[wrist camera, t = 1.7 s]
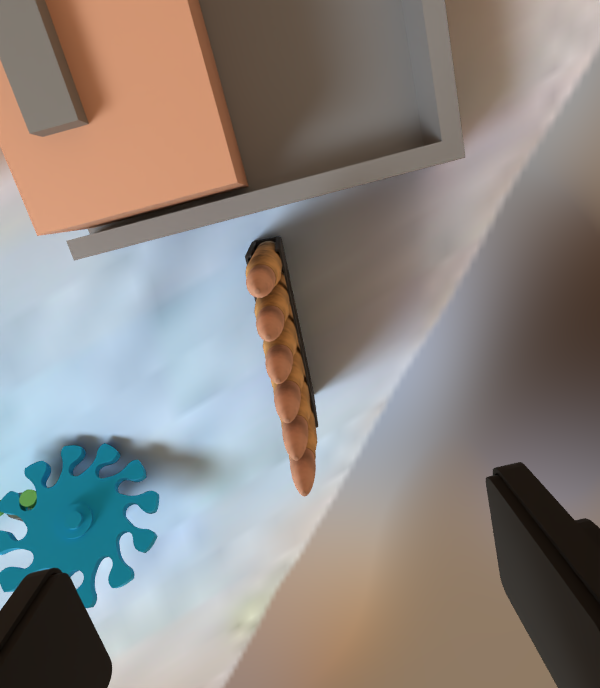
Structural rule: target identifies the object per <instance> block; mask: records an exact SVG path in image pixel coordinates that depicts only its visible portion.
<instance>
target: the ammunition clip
mask: <svg viewBox="0 0 600 688" xmlns="http://www.w3.org/2000/svg"><path fill="white" fill-rule="evenodd" d="M245 259H246V263H247V267H246V278H247V279H246V285H247V289H248V291H249V292H250V294H251V295H253V296H254V297H255V301H256V304H255V316H256V320H257V321H256V327H257V331H258V334H259V335H260V337H261V338H262V339H263V340H264V342H263V349H264V353H265V358H266V369H267V373H268V375H269V377H270V378H271V383H272V387H273V389H274V402H275V407H276V411H277V413H278V415H279V417H280V420H281V424H282V434H283V440H284V444H285V448H286V450H287V452H288V454H289V459H290V468H291V473H292V478H293V481H294V484H295V486H296V488H297V490H298V491H299V493H300V494H301V495H302V496H307V495H308V494H309V492H310V491H311V489H312V486H313V483H314V478H315V469H316V465H315V458H316V456H315V450H316V446H317V434H316V427H318V421H317V413H316V406H315V399H314V392H313V387H312V382H311V378H310V373H309V368H308V363H307V358H306V354H305V349H304V344H303V339H302V334H301V330H300V325H299V320H298V315H297V310H296V306H295V301H294V296H293V291H292V287H291V282H290V277H289V272H288V267H287V263H286V258H285V253H284V248H283V243H282V239H281V237H280V236H278V237H274V238H269V239H264V240H259V241H254V242H252V243H251V245H250V247H249V249H248V251H247V253H246V255H245Z"/></svg>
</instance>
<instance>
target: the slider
mask: <svg viewBox="0 0 600 688" xmlns="http://www.w3.org/2000/svg"><path fill="white" fill-rule="evenodd" d="M0 147H1V149H2V151H3V154H4V156H5V159H6V161H7V163H8V166H9V168H10V171H11V173H12V175H13V178H14V180H15V183H16V185H17V188H18V190H19V192H20V195H21V197H22V200H23V202H24V204H25V207H26V209H27V212H28V214H29V216H30V219H31V221H32V224H33V226H34V228H35V231H36V233H37V236H39V235H46V234H53V233H61V232H68V231H75V230H82V229H89V228H95V227H99V226H103V225H106V224H110V223H114V222H118V221H121V220H125V219H129V218H133V217H136V216H140V215H144V214H148V213H151V212H155V211H159V210H163V209H166V208H170V207H174V206H178V205H181V204H185V203H189V202H193V201H196V200H200V199H204V198H208V197H211V196H215V195H219V194H223V193H226V192H230V191H234V190H238V189H241V188H245V187H249V185H248V182H247V178H246V174H245V171H244V167H243V163H242V160H241V156H240V152H239V148H238V145H237V141H236V137H235V134H234V130H233V126H232V122H231V119H230V115H229V111H228V108H227V104H226V100H225V96H224V93H223V89H222V85H221V82H220V78H219V74H218V71H217V67H216V63H215V59H214V56H213V52H212V48H211V45H210V41H209V37H208V33H207V30H206V26H205V22H204V19H203V15H202V11H201V7H200V4H199V0H0Z"/></svg>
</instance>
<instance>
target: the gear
mask: <svg viewBox="0 0 600 688" xmlns="http://www.w3.org/2000/svg"><path fill="white" fill-rule="evenodd" d="M85 455H86V452H85V450H84V449H83V448H82V447H80V446H76V445H69V446H64V447H63V448H62V451H61V457H62V461H63V468H62V472H61V475H60V477H59V479H58V481H57V483H56V484H55V485H54V486H53V487H50V488H47V486H46V482H47V479H48V477H49V475H50V473H51V467H50V465H49V464H47V463H46V462H44V461H39V462H36V463H34V464H32V465H30V466H28V467H27V468H25V476H26V477H27V478H28V479H30V480H31V481H32V483H33V484H34V486H35V488H36V491H34V490H26V491H24V492H23V493H16V492H13V491H10V492H9V493H7V494H6V495H5V496H4V497H3V499H2V500H0V516H1V515H3V514H4V513H6V514H7V515H8V516H9V517H10V518H13V519H17V520H20V521H23V522H24V523H25V524H26V526H27V529H28V531H27V534H26V536H25V537H24V538H23V539H21V540H19V541H18V540H17V539H16V538H15V536H14V535H13V534H12V533H10V532H6V531H0V555H3V554H6V553H8V552H10V551H13V550H17V549H25V550H29V551H31V552H32V553H33V555H34V559H33V562H32V564H31V565H30V566H29V567H28V568H26V569H23V568H19V567H8V568H5V569H4V570H2V571H1V572H0V584H1V587H2V589H3V591H4V592H14V591H15V590H16V588H17V587H18V586H19V584H20V583H21V581H22V580H23V579H24V578H25V576H26V575H28V574H30V573H32V572H37V571H41V570H46V569H50V568H59V569H60V570H61V571H62V572H63V573H67V574H68V575H69V576H70V577H71V576H72V575H73V574H74V573H75V572H77V571H79V570H80V571H81V572H82V573H83V575H84V580H83V583H82V584H81V586H80V587H79V588H78V589H76V590H77V592H78V594H79V596H80V598H81V600H82V602H83V604H84V607H85V608H91V607H94V605H95V604H96V601H97V594H96V591H95V576H96V572H97V570H98V567H99V565H100V563H101V561H102V560H103V559H104V558H106V557H110V558H111V559H112V561H113V566H112V569H111V572H110V574H109V579H108V580H109V584H110V586H111V587H112V588H119V587H122V586H124V585H126V584H127V583H129V582H130V581H131V580H133V579H134V571H133V569H132V568H131V567H129V566H128V565H127V564H126V563H125V562H124V560H123V558H122V556H121V553H120V546H119V540H120V538H121V536H122V535H123V534H124V533H127V532H130V533H131V534H132V535H133V542H134V546H135V548H136V549H137V550H138V551H140V552H143V553H146V552H147V551H149V550H150V548H151V547H152V546H153V544H154V542H155V541H156V539H157V535H156V534H155V533H154V532H153V531H151V530H149V529H140V528H137V527H135V526H134V525H133V524H132V523H131V522H130V521H129V520H128V519H127V517H126V510H127V508H128V507H129V506H131V505H133V504H137V505H138V506H139V507H140V508H141V509H142V510H143V511H145V512H146V513H149V514H152V513H155V512H156V511H157V509H158V505H159V494H158V493H156V492H155V491H147V492H145V493H143V494H140V495H136V496H128V495H123V494H120V493H119V492H118V487H119V485H120V483H121V482H123V481H125V480H130V481H133V482H140V481H143V480H144V479H145V478H146V471H145V469H144V467H143V465H142V464H141V462H140V461H139V460H133V461H131V462H130V463H129V464H128V465H127V466H126V467H125V468H124V469H123V470H122V471H121V472H119V473H117V474H116V475H113V476H110V477H106V478H100V477H99V471H100V470H101V468H102V467H104V466H107V465H111V464H114V463H116V462H117V461H118V460H119V458H120V453H119V452H118V451H117V450H116V449H115V448H113V447H112V446H110V445H108V444H106V443H104V444H102V445H101V446H100V447H99V449H98V451H97V455H96V458H95V460H94V462H93V463H92V464H91V466H90V467H89V468H88V469H87V470H86V471H84V472H83V473H82V474H80V475H79V476H74V475H73V470H74V468H75V467H76V466H77V465H78V464H79V463H80V462H81V461H82V460H83V459H84V458H85Z"/></svg>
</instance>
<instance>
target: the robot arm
mask: <svg viewBox="0 0 600 688" xmlns="http://www.w3.org/2000/svg"><path fill="white" fill-rule="evenodd" d="M486 487H487V493H488V500H489V507H490V513H491V520H492V526H493V533H494V539H495V546H496V552H497V559H498V565H499V571H500V578H501V581H502V585H503V587H504V590H505V592H506V594H507V596H508V598H509V599H510V602H511V604H512V606H513V607H514V609H515V611H516V613H517V615H518V616H519V618H520V620H521V622H522V624H523V625H524V627H525V629H526V631H527V632H528V634H529V636H530V638H531V639H532V642H533V643H534V645H535V647H536V649H537V651H538V652H539V654H540V656H541V658H542V660H543V661H544V663H545V665H546V667H547V669H548V670H549V672H550V674H551V676H552V678H553V679H554V681H555V683H556V685H557V687H558V688H600V528H599V527H598V526H597V525H595V524H594V523H593V522H592V521H591V520H588V519H586V518H585V519H580V520H574V519H573V518H572V517H571V516H570V515H569V514H568V513H567V511H566V510H565V509H564V508H563V507H562V506H561V505H560V504H559V502H558V501H557V500H556V499H555V498H554V497H553V496H552V495H551V494H550V492H549V491H548V490H547V489H546V488H545V487H544V486H543V485H542V484H541V483H540V481H539V480H538V479H537V478H536V477H535V476H534V475H533V474H532V473H531V471H530V470H529V469H528V468H527V467H526V466H525V465H524V464H523V463H521V462H518V463H514V464H510V465H505V466H501V467H496V468H494V469H493V476H489V477H487V478H486ZM111 675H112V663H111V659H110V657H109V655H108V653H107V651H106V649H105V647H104V645H103V643H102V641H101V639H100V637H99V635H98V633H97V631H96V629H95V627H94V625H93V623H92V621H91V619H90V617H89V615H88V613H87V611H86V609H85V607H84V604H83V602H82V600H81V598H80V596H79V594H78V592H77V590H76V588H75V586H74V584H73V582H72V580H71V578H70V576H69V575H68V574H67V573H63V572H62V571H61V570H60V569H59V568H50V569H46V570H41V571H37V572H32V573H30V574H28V575H26V576H25V578H24V579H23V580H22V581H21V583H20V584H19V586H18V587H17V588H16V590H15V591H14V592H13V594H12V595H11V597H10V598H9V599H8V601H7V602H6V604H5V605H4V606H3V608H2V609H1V611H0V688H107V687H108V685H109V682H110V679H111Z"/></svg>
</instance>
